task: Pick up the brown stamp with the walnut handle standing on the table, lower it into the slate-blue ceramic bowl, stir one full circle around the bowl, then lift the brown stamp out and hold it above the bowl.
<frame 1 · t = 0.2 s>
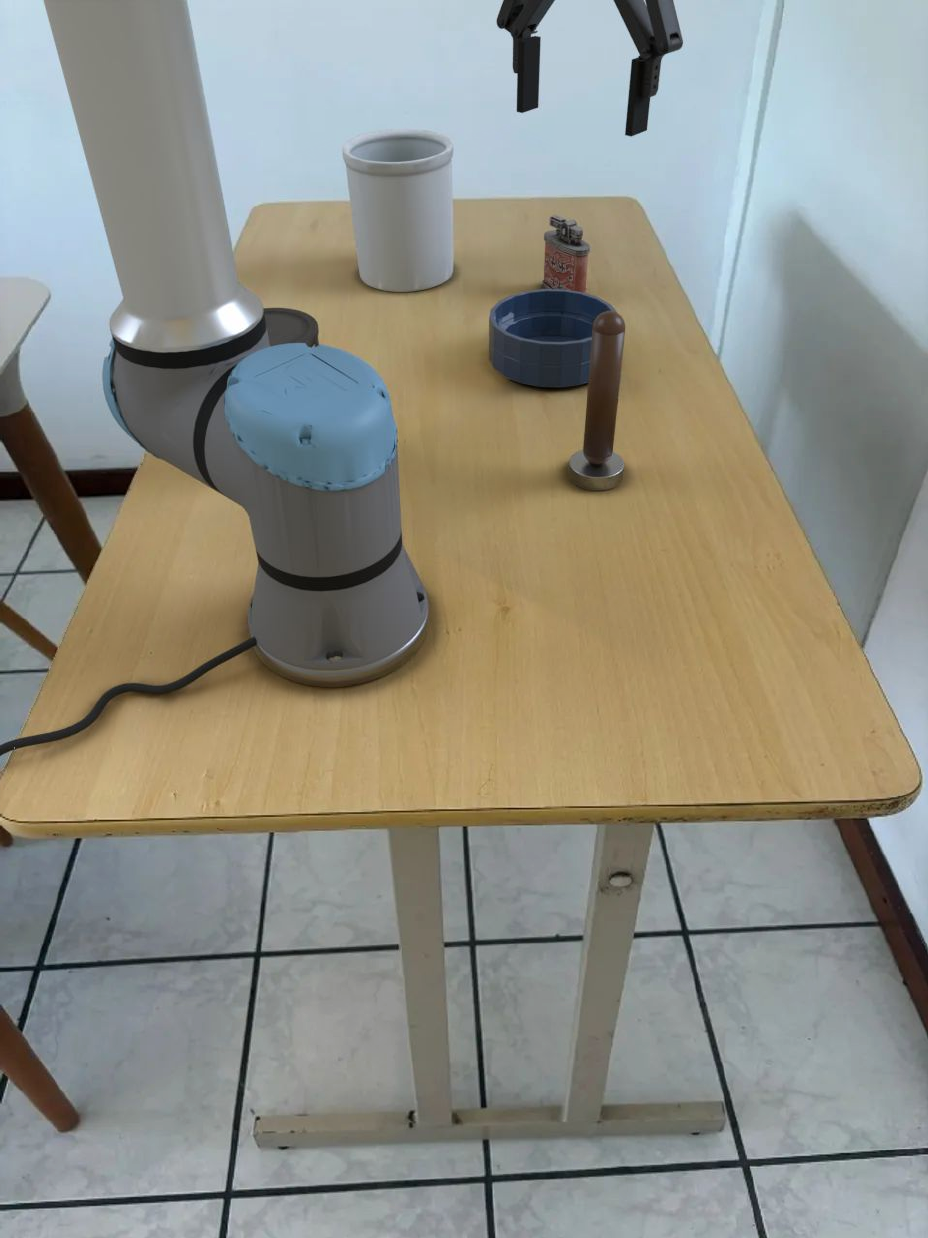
hand: (579, 121, 97), 28 cm above the table, tool pointing down, fingers open, 13 cm apart
lighter: (563, 295, 133), on the table
brown stamp: (595, 475, 99), on the table
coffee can: (285, 454, 103), on the table
bowl: (551, 361, 118), on the table
utensil holder: (405, 275, 139), on the table
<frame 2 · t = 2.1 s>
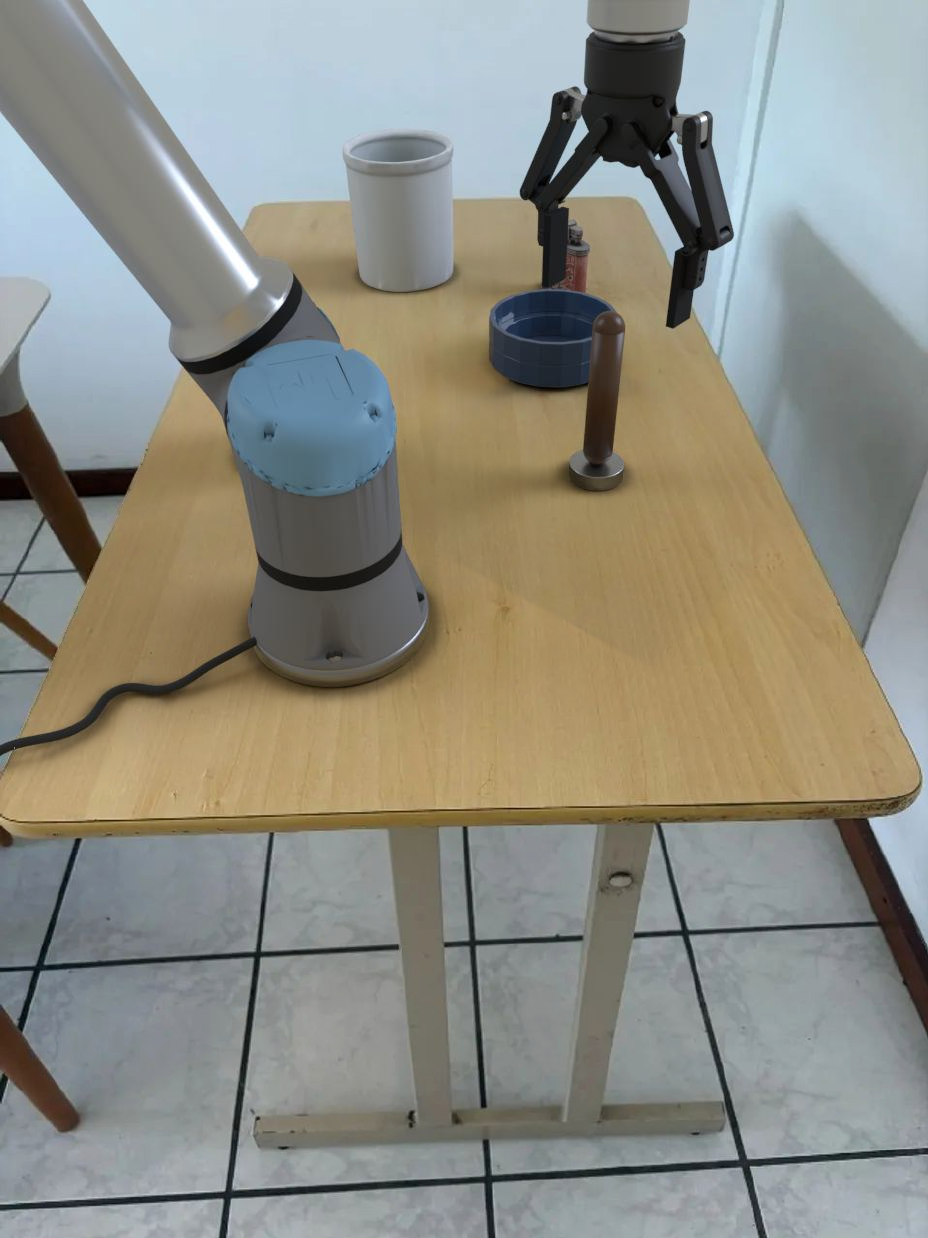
hand: (613, 301, 87), 19 cm above the table, tool pointing down, fingers open, 13 cm apart
nothing on the table moved.
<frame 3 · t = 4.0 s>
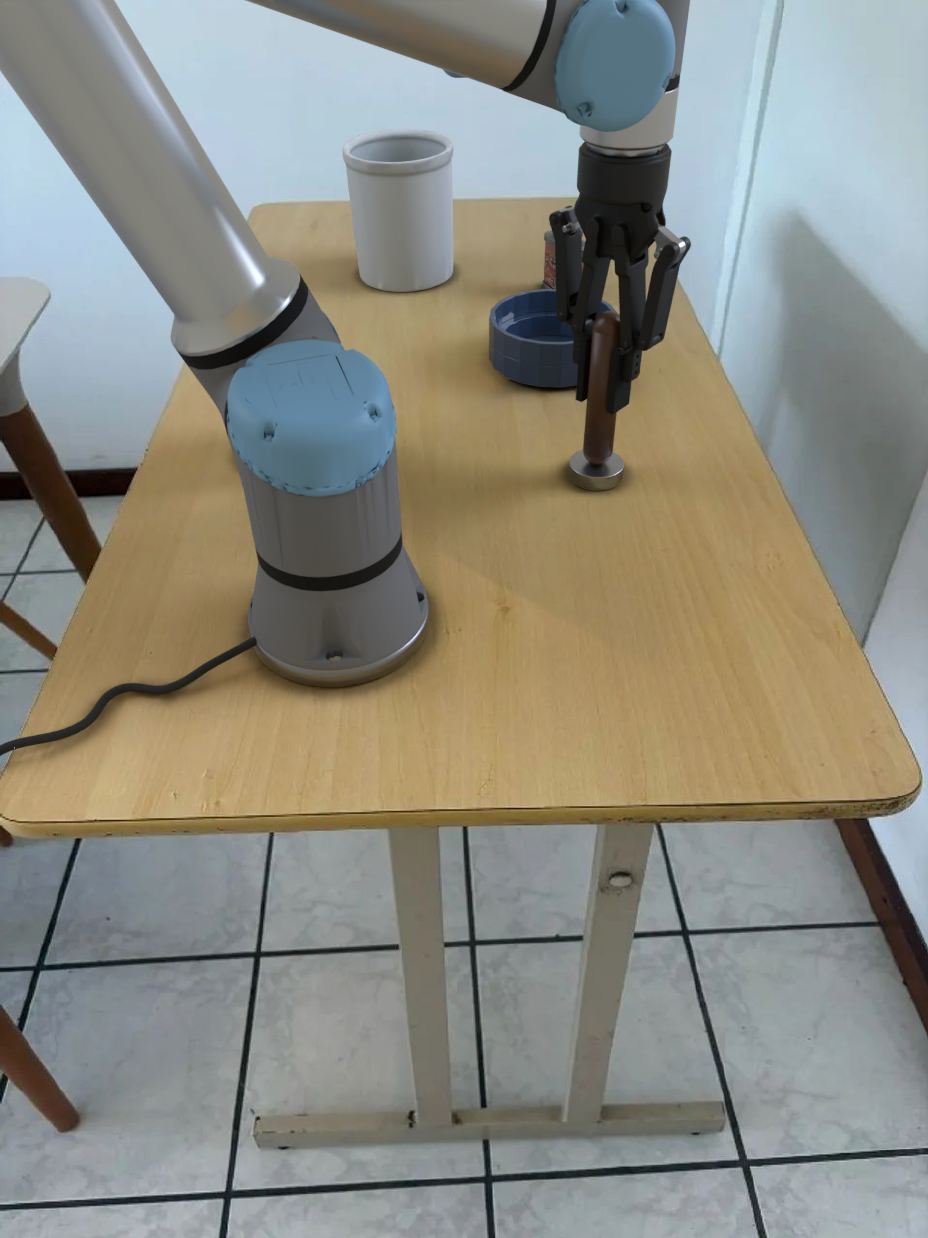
hand: (602, 401, 93), 9 cm above the table, tool pointing down, fingers closed on brown stamp, 3 cm apart
brown stamp: (595, 475, 99), on the table, touching gripper
everything else where it was.
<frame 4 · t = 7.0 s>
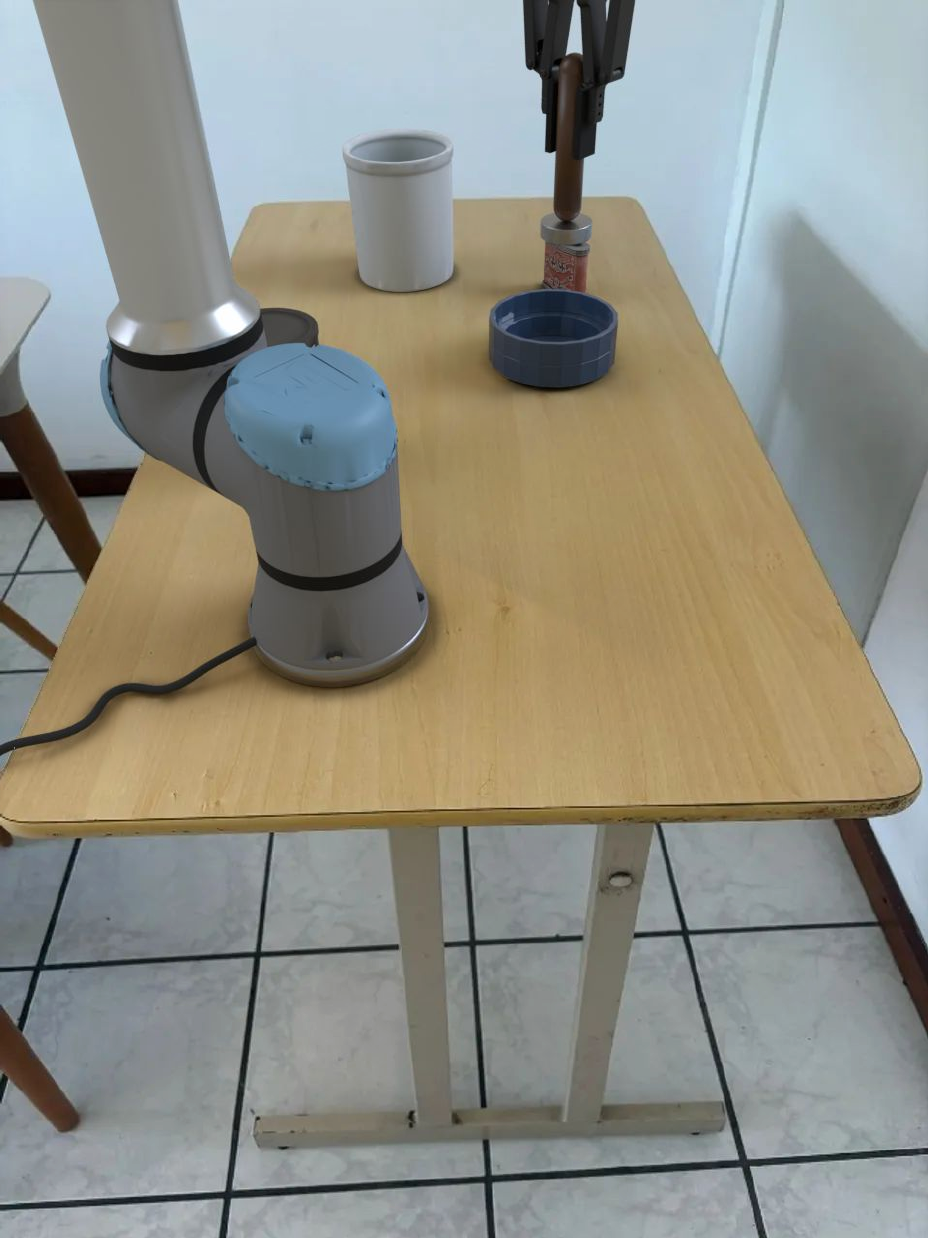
hand: (569, 152, 99), 25 cm above the table, tool pointing down, fingers closed on brown stamp, 3 cm apart
brown stamp: (565, 235, 105), point 16 cm above the table, touching gripper
everything else where it was.
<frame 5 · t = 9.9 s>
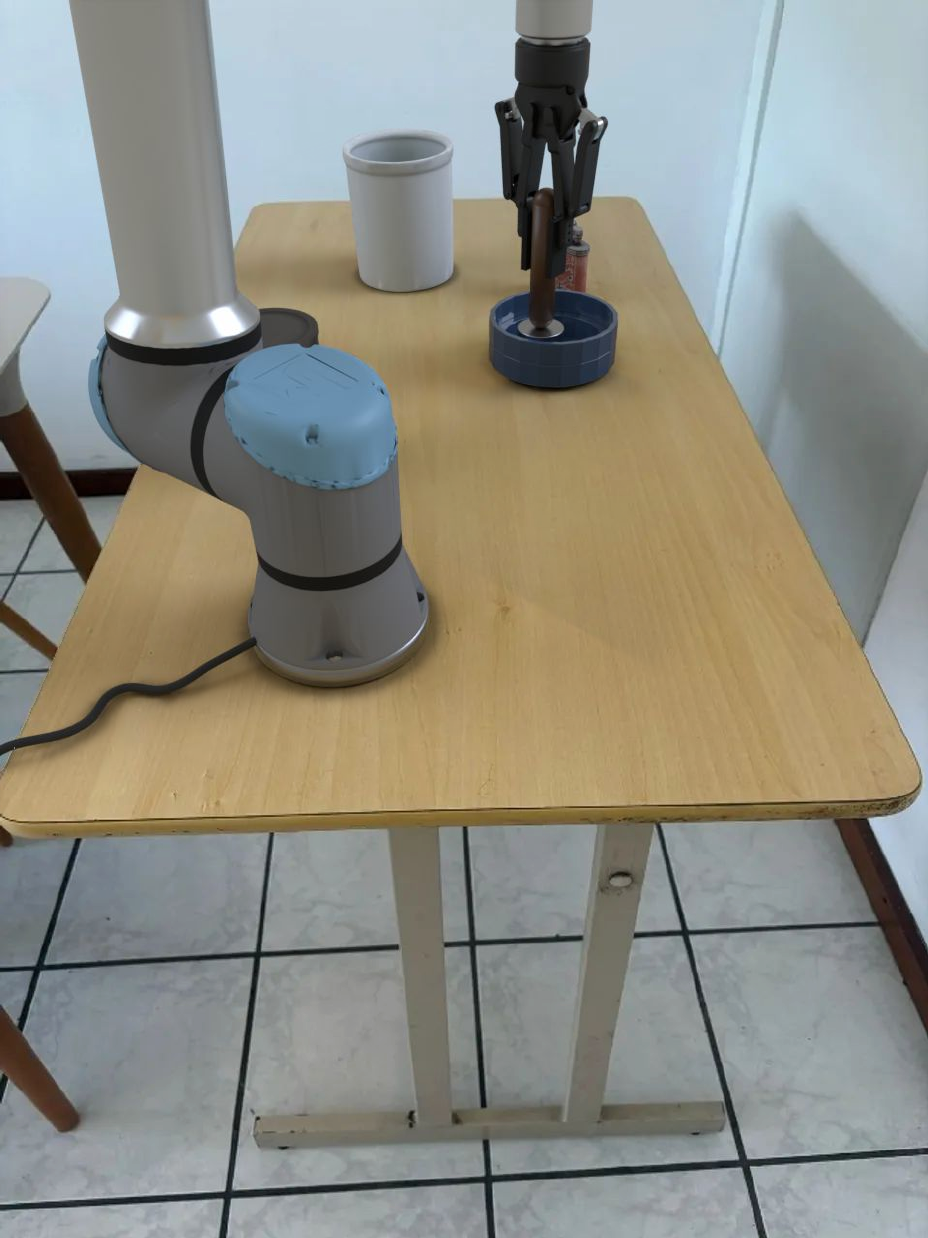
hand: (543, 270, 111), 11 cm above the table, tool pointing down, fingers closed on brown stamp, 3 cm apart
brown stamp: (540, 339, 116), point 3 cm above the table, touching gripper
everything else where it was.
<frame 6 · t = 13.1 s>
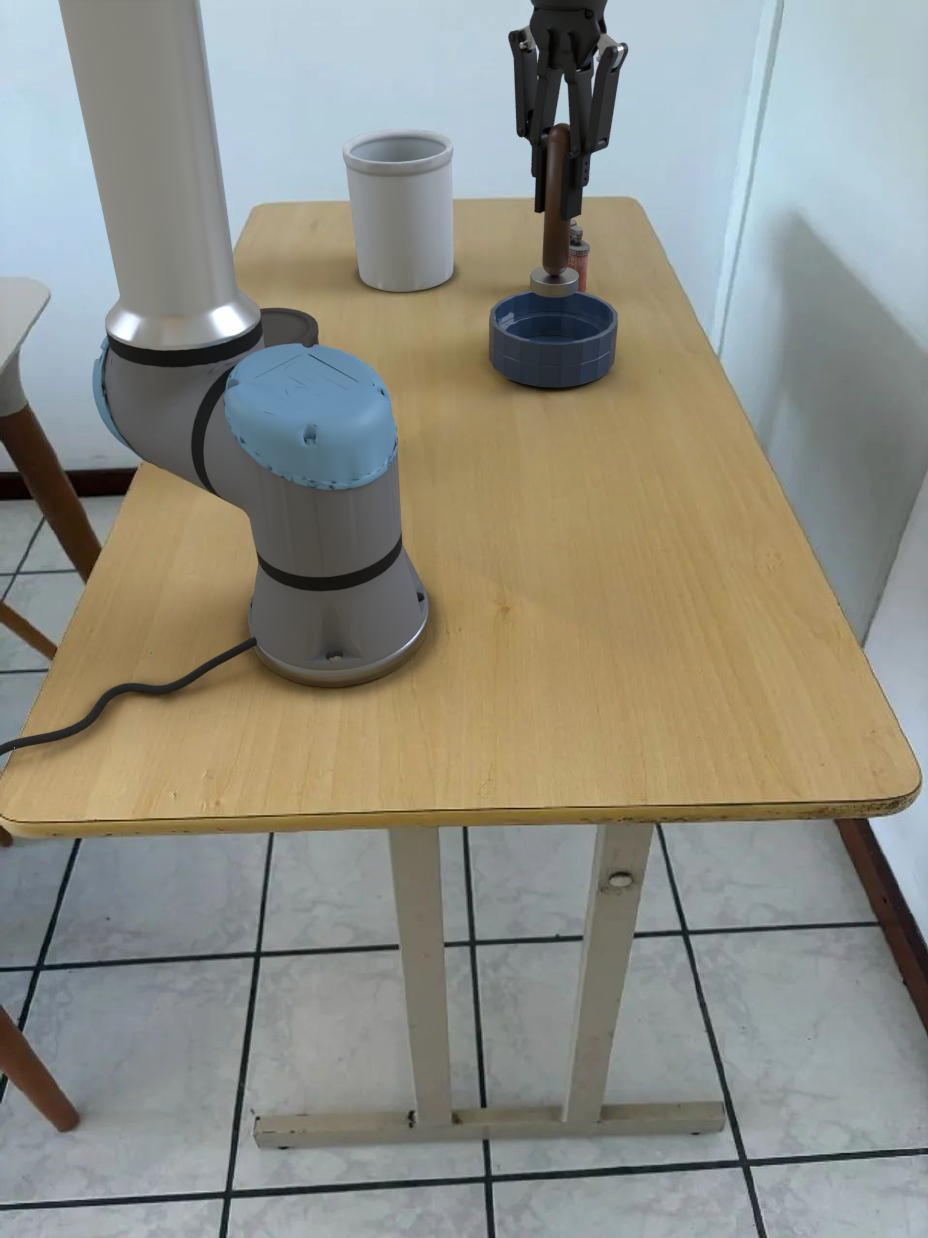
hand: (557, 212, 106), 18 cm above the table, tool pointing down, fingers closed on brown stamp, 3 cm apart
brown stamp: (553, 288, 112), point 9 cm above the table, touching gripper
everything else where it was.
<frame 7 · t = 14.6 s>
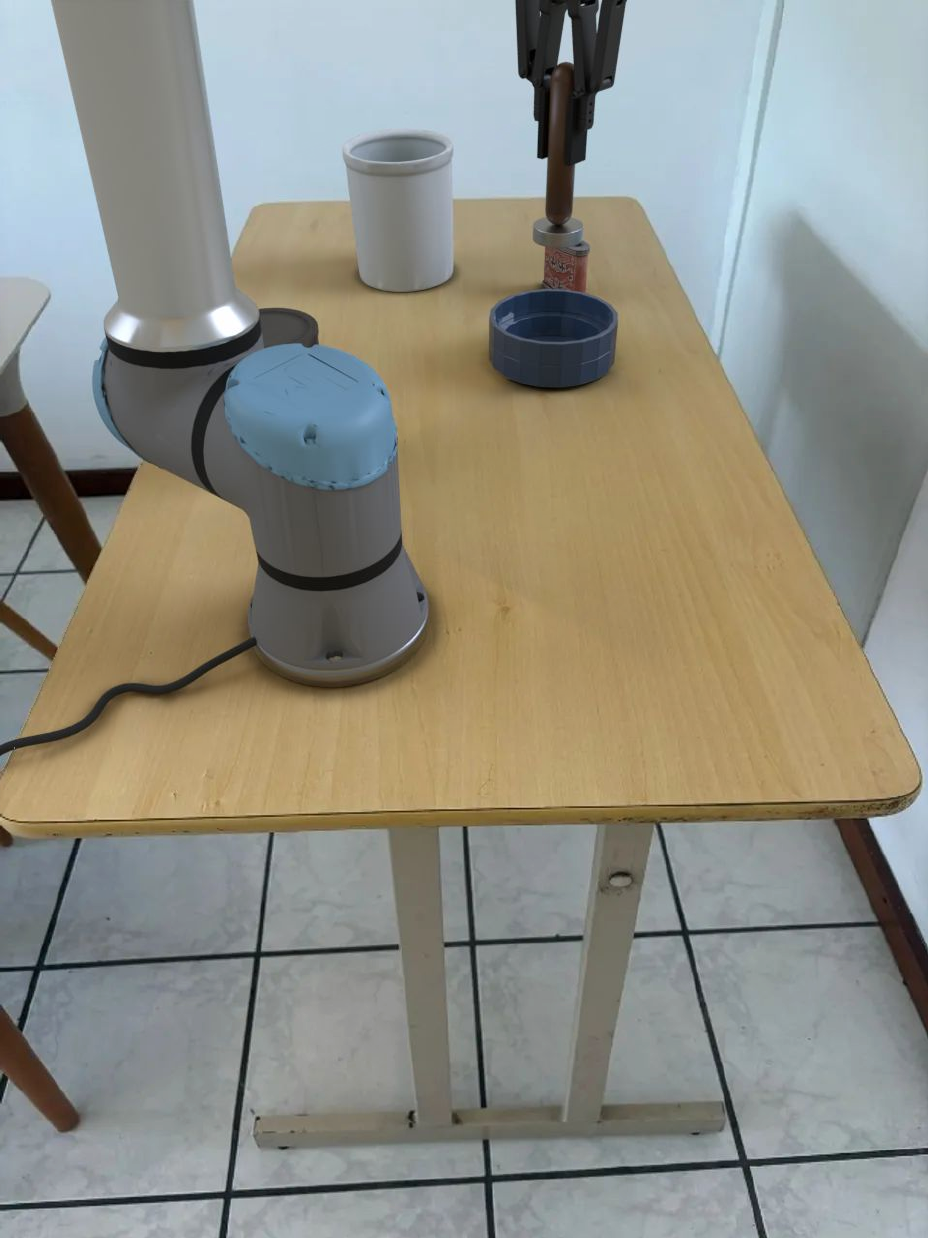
hand: (561, 158, 102), 23 cm above the table, tool pointing down, fingers closed on brown stamp, 3 cm apart
brown stamp: (557, 238, 108), point 15 cm above the table, touching gripper
everything else where it was.
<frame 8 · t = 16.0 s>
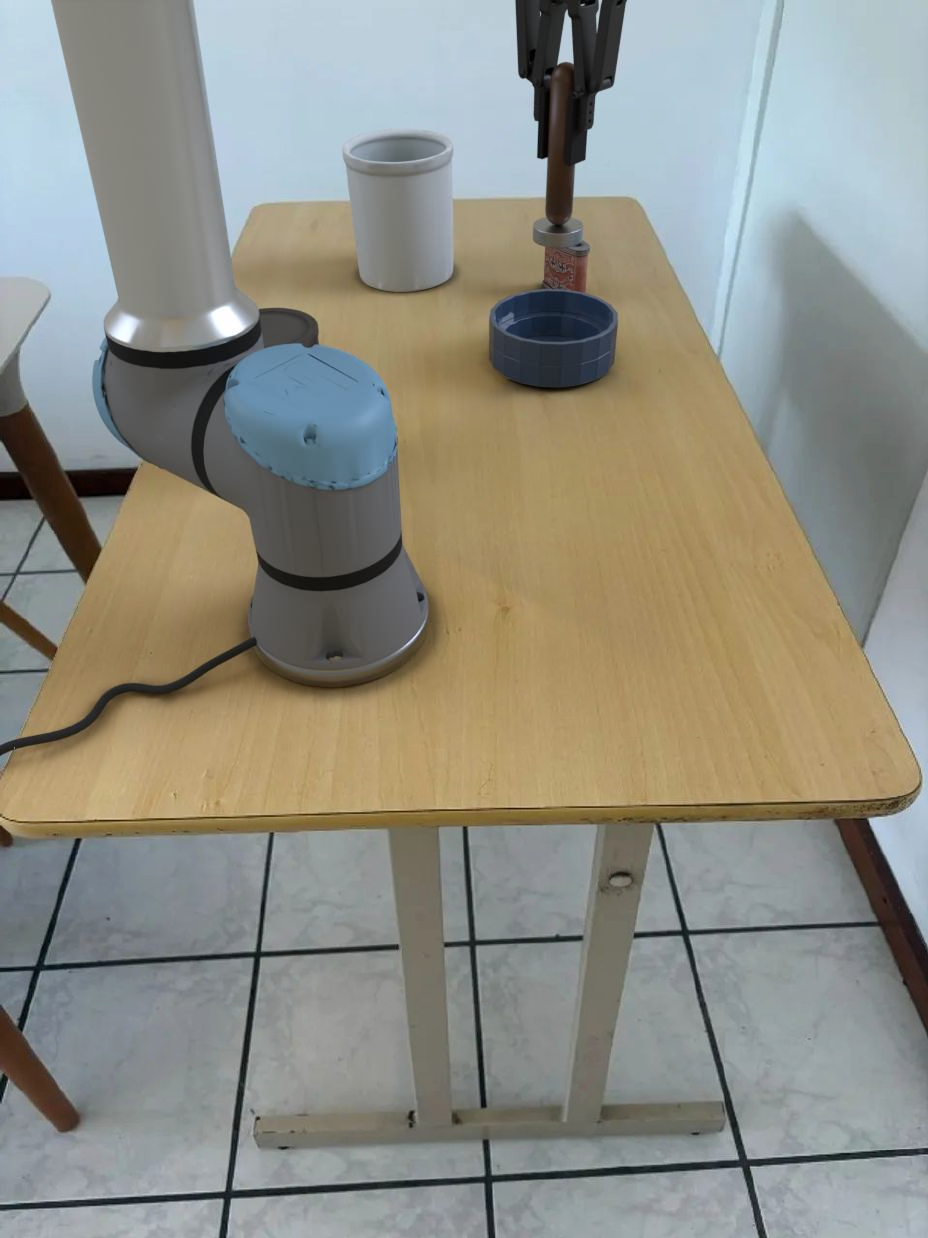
hand: (561, 158, 102), 23 cm above the table, tool pointing down, fingers closed on brown stamp, 3 cm apart
brown stamp: (557, 238, 108), point 15 cm above the table, touching gripper
everything else where it was.
at the end: the gripper is holding brown stamp; brown stamp inside the target area on the bowl (0.0 cm from its centre), point 15.0 cm above the bowl's base; brown stamp tilted 0° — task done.
